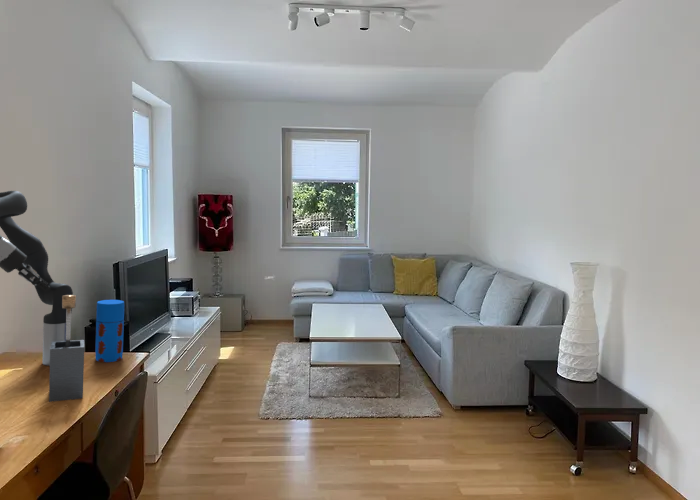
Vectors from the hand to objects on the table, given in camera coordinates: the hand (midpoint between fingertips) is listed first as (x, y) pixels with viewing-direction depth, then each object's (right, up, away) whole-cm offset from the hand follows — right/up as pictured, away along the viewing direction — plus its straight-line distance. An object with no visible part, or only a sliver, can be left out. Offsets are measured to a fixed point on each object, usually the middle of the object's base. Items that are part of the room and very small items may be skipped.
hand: (47, 288), depth 163 cm
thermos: (-4, -35, +49) cm, 61 cm away
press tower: (+2, -38, +7) cm, 38 cm away
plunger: (+3, -28, +7) cm, 29 cm away
